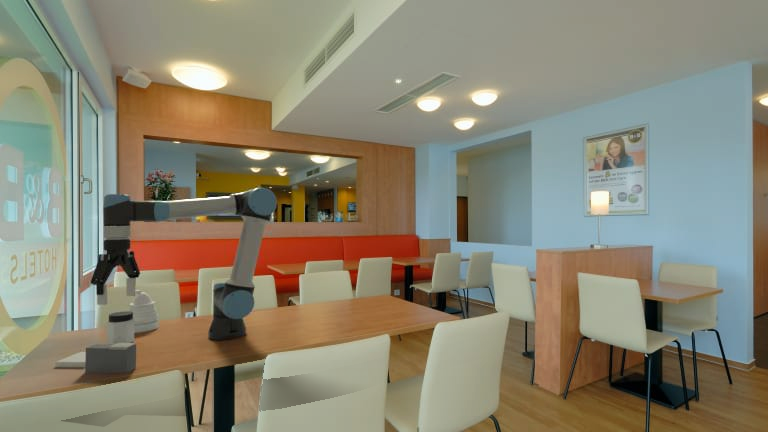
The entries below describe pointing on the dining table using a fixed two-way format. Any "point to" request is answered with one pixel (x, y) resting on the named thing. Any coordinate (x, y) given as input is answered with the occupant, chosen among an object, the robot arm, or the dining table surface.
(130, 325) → the jar
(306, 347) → the dining table surface
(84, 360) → the tile
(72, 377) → the dining table surface
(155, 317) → the honey pot
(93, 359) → the grey rectangular block
